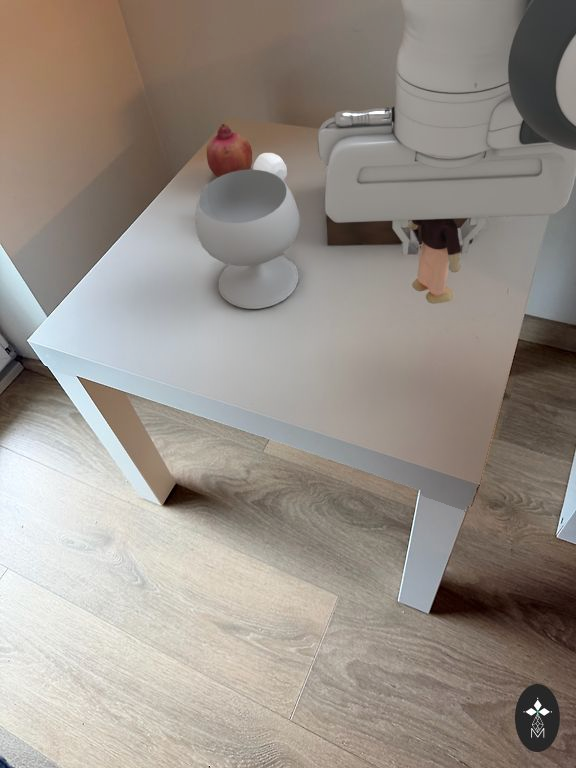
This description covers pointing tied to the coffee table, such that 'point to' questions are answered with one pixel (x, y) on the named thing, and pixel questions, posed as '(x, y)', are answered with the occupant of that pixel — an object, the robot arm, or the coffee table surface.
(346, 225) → the box with brass rails
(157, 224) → the coffee table surface
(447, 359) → the coffee table surface
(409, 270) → the coffee table surface
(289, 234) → the chalice
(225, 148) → the fruit
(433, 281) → the grandmother figurine
